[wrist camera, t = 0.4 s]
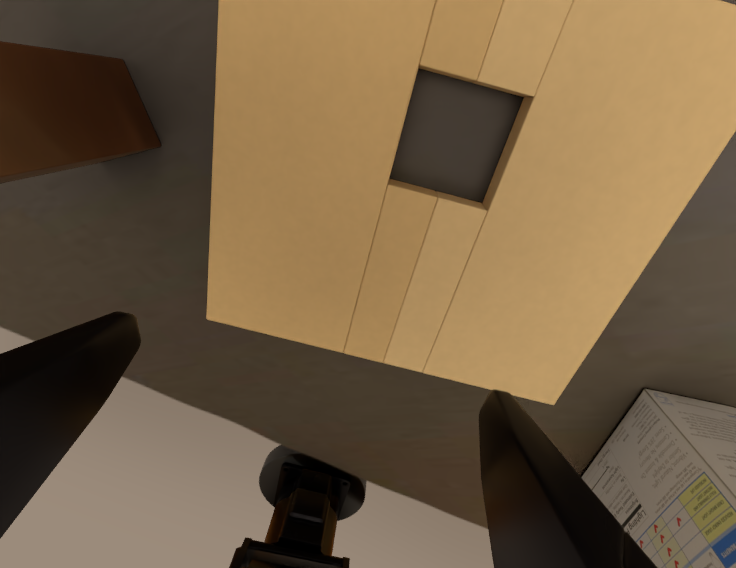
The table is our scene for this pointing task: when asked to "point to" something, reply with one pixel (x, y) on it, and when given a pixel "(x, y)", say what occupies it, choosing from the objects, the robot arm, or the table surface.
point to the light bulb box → (673, 480)
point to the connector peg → (66, 111)
